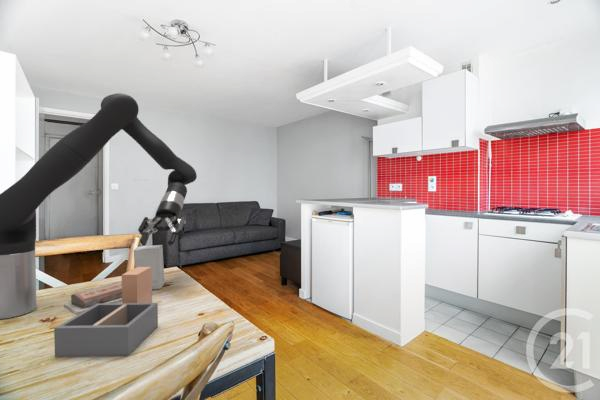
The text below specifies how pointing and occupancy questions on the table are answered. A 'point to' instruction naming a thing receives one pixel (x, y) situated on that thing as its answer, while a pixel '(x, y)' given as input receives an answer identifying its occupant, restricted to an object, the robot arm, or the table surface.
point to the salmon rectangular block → (137, 285)
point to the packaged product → (94, 297)
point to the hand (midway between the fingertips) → (156, 244)
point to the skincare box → (151, 262)
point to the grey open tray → (106, 330)
